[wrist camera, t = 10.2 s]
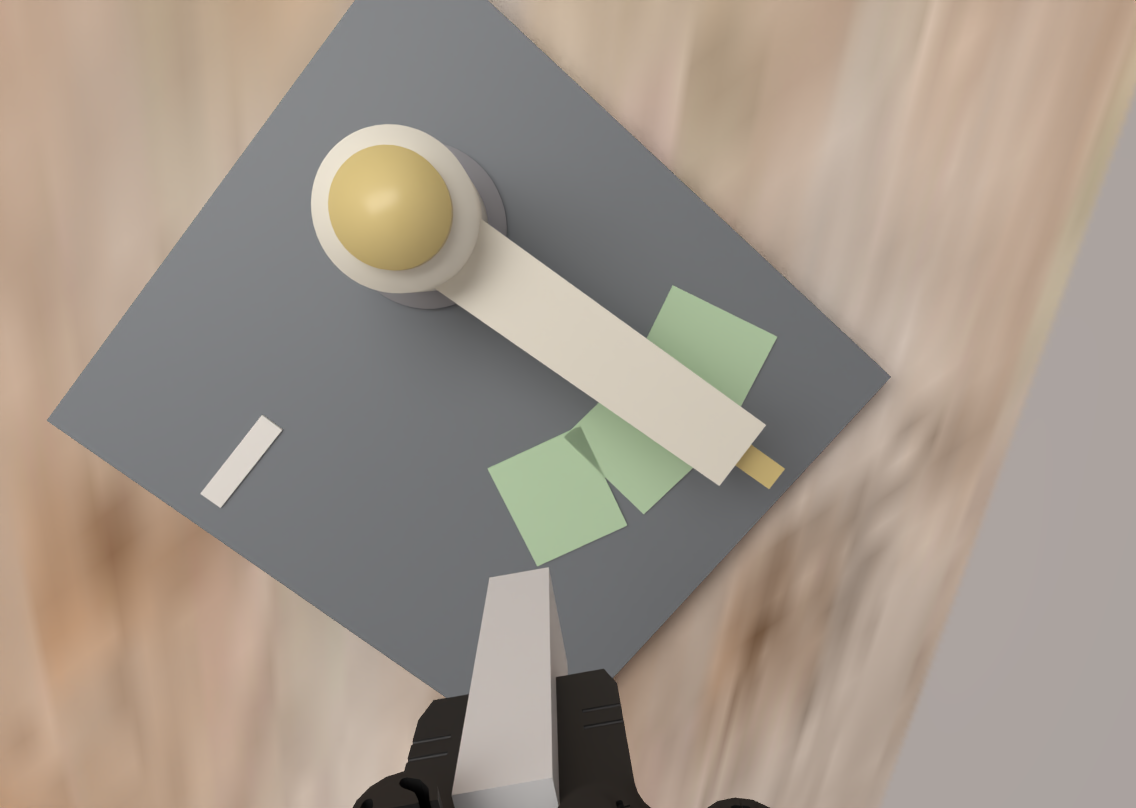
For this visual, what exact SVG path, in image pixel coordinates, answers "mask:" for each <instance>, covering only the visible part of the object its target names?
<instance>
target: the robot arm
mask: <svg viewBox="0 0 1136 808" xmlns="http://www.w3.org/2000/svg"><path fill="white" fill-rule="evenodd" d="M353 808H650V807H649V806H648V805H647V804H646V803H645V802H644V801H643V800H642V798H641V797H640V795H639V794H638V792H637V789H636V786H635V783H634V777H633V772H632V766H631V760H630V755H629V749H628V743H627V738H626V732H625V726H624V721H623V715H622V709H621V704H620V698H619V692H618V687H617V683H616V682H615V681H614V680H613V678H612V677H611V676H610V675H609V674H608V673H607V672H606V670H605V669H599V670H593V671H587V672H582V673H576V674H570V675H568V667H567V659H566V654H565V649H564V643H563V638H562V633H561V628H560V623H559V618H558V612H557V607H556V602H555V597H554V592H553V587H552V581H551V576H550V571H549V567H547V568H541V569H536V570H530V571H524V572H519V573H513V574H507V575H502V576H496V577H490V578H489V583H488V589H487V595H486V600H485V606H484V612H483V618H482V623H481V629H480V635H479V640H478V646H477V652H476V658H475V663H474V669H473V675H472V681H471V686H470V692H469V694H467V695H461V696H455V697H450V698H444V699H438V700H433V702H432V703H431V704H430V706H429V707H428V708H427V710H426V711H425V712H424V713H423V715H422V716H421V717H420V719H419V720H418V723H417V727H416V731H415V734H414V738H413V745H411V749H410V752H409V756H408V763H406V767H405V771H404V772H400V773H397V774H394V775H391V776H388V777H386V778H384V779H382V780H381V781H379V782H377V783H376V784H374V785H373V786H371V787H370V788H369V789H368V790H367V791H366V792H365V793H364V794H363V795H362V796H361V797H360V798H359V799H358V800H357V801H356V803H355V805H354V806H353ZM708 808H769V807H767V806H765V805H763V804H761V803H758V802H756V801H754V800H750V799H742V798H730V799H726V800H721V801H717V802H716V803H714V804H712V805H711V806H709V807H708Z"/></svg>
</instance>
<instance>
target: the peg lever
mask: <svg viewBox="0 0 1136 808" xmlns="http://www.w3.org/2000/svg"><path fill="white" fill-rule="evenodd" d="M311 214H312V220H313V225H314V228H315V231H316V235H317V237H318V239H319V242H320V244H321V246H322V248H323V249H324V251H325V252H326V254H327V256H328V257H329V258H330V259H331V261H332V262H333V263H334V264H335V265H336V266H337V267H338V268H339V269H340V270H341V271H342V272H343V273H344V274H345V275H347V276H348V277H349V278H351V279H352V280H354V281H356V282H357V283H359V284H361V285H363V286H366V287H368V288H370V289H374V290H377V291H381V292H387V293H413V292H427V291H437V290H438V291H439V292H440V293H442V294H443V295H445V296H446V297H448V298H449V299H451V300H452V301H453V302H455V303H456V304H458V305H459V306H461V307H462V308H463V309H465V310H466V311H468V312H469V313H471V314H472V315H474V316H475V317H476V318H478V319H479V320H481V321H482V322H484V323H485V324H487V325H488V326H489V327H491V328H492V329H494V330H495V331H497V332H498V333H500V334H501V335H502V336H504V337H505V338H507V339H508V340H510V341H511V342H512V343H514V344H515V345H517V346H518V347H520V348H521V349H523V350H524V351H525V352H527V353H528V354H530V355H531V356H533V357H534V358H536V359H537V360H538V361H540V362H541V363H543V364H544V365H546V366H547V367H549V368H550V369H551V370H553V371H554V372H556V373H557V374H559V375H560V376H562V377H563V378H564V379H566V380H567V381H569V382H570V383H572V384H573V385H574V386H576V387H577V388H579V389H580V390H582V391H583V392H585V393H586V394H587V395H589V396H590V397H592V398H593V399H595V400H596V401H598V402H599V403H600V404H602V405H603V406H605V407H606V408H608V409H609V410H611V411H612V412H613V413H615V414H616V415H618V416H619V417H621V418H622V419H623V420H625V421H626V422H628V423H629V424H631V425H632V426H634V427H635V428H636V429H638V430H639V431H641V432H642V433H644V434H645V435H647V436H648V437H649V438H651V439H652V440H654V441H655V442H657V443H658V444H660V445H661V446H662V447H664V448H665V449H667V450H668V451H670V452H671V453H672V454H674V455H675V456H677V457H678V458H680V459H681V460H683V461H684V462H685V463H687V464H688V465H690V466H691V467H693V468H694V469H696V470H697V471H698V472H700V473H701V474H703V475H704V476H706V477H707V478H709V479H710V480H711V481H713V482H714V483H716V484H717V485H719V486H720V484H721V483H722V482H723V481H724V479H725V478H726V477H727V475H728V474H729V473H730V471H731V470H732V469H733V468H734V466H737V467H738V468H740V469H741V470H742V471H744V472H745V473H747V474H748V475H750V476H751V477H752V478H754V479H755V480H757V481H758V482H760V483H761V484H762V485H764V486H765V487H767V488H768V489H770V487H771V486H772V485H773V484H774V482H775V481H776V480H777V479H778V477H779V476H780V475H781V473H782V472H783V471H784V470H785V468H783V467H782V466H780V465H779V464H778V463H776V462H775V461H774V460H772V459H771V458H769V457H768V456H767V455H765V454H764V453H762V452H761V451H760V450H758V449H757V448H755V447H754V446H753V445H751V444H752V443H753V442H754V440H755V439H756V438H757V436H758V435H759V434H760V432H761V431H762V430H763V429H764V427H765V426H766V425H765V424H764V423H763V422H761V421H760V420H758V419H757V418H756V417H754V416H753V415H752V414H750V413H749V412H747V411H746V410H745V409H743V408H742V407H741V406H739V405H738V404H736V403H735V402H734V401H732V400H731V399H729V398H728V397H727V396H725V395H724V394H723V393H721V392H720V391H718V390H717V389H716V388H714V387H713V386H711V385H710V384H709V383H707V382H706V381H705V380H703V379H702V378H700V377H699V376H698V375H696V374H695V373H693V372H692V371H691V370H689V369H688V368H687V367H685V366H684V365H682V364H681V363H680V362H678V361H677V360H676V359H674V358H673V357H671V356H670V355H669V354H667V353H666V352H664V351H663V350H662V349H660V348H659V347H658V346H656V345H655V344H653V343H652V342H651V341H649V340H648V339H646V338H645V337H644V336H642V335H641V334H640V333H638V332H637V331H635V330H634V329H633V328H631V327H630V326H629V325H627V324H626V323H624V322H623V321H622V320H620V319H619V318H617V317H616V316H615V315H613V314H612V313H611V312H609V311H608V310H606V309H605V308H604V307H602V306H601V305H599V304H598V303H597V302H595V301H594V300H593V299H591V298H590V297H588V296H587V295H586V294H584V293H583V292H582V291H580V290H579V289H577V288H576V287H575V286H573V285H572V284H570V283H569V282H568V281H566V280H565V279H564V278H562V277H561V276H559V275H558V274H557V273H555V272H554V271H552V270H551V269H550V268H548V267H547V266H546V265H544V264H543V263H541V262H540V261H539V260H537V259H536V258H534V257H533V256H532V255H530V254H529V253H528V252H526V251H525V250H523V249H522V248H521V247H519V246H518V245H517V244H515V243H514V242H512V241H511V240H510V239H508V238H507V237H505V236H504V235H503V234H501V233H500V232H499V231H497V230H496V229H494V228H493V227H492V226H490V225H489V224H488V219H487V213H486V209H485V206H484V203H483V201H482V198H481V196H480V195H479V193H478V191H477V189H476V188H475V186H474V184H473V183H472V181H471V180H470V178H469V176H468V175H467V173H466V171H465V170H464V168H463V167H462V165H461V164H460V162H459V161H458V160H457V158H456V157H455V156H454V155H453V153H452V152H451V151H450V150H449V149H448V148H447V147H446V146H444V145H443V144H442V143H441V142H440V141H438V140H437V139H435V138H434V137H432V136H430V135H429V134H427V133H425V132H422V131H420V130H418V129H415V128H411V127H408V126H403V125H396V124H382V125H374V126H370V127H366V128H363V129H360V130H358V131H355V132H354V133H352V134H350V135H348V136H347V137H345V138H344V139H342V140H341V141H340V142H339V143H337V144H336V145H335V146H334V147H333V148H332V149H331V150H330V152H329V153H328V154H327V156H326V157H325V158H324V160H323V161H322V163H321V165H320V167H319V169H318V171H317V174H316V177H315V180H314V184H313V188H312V195H311Z"/></svg>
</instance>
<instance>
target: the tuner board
mask: <svg viewBox="0 0 1136 808" xmlns="http://www.w3.org/2000/svg"><path fill="white" fill-rule="evenodd" d="M382 124H396V125H403V126H408V127H411V128H415V129H418V130H420V131H422V132H425V133H427V134H429V135H430V136H432V137H434V138H435V139H437V140H438V141H440V142H441V143H442V144H443V145H444V146H446V147H447V148H448V149H449V150H450V151H451V152H452V153H453V155H454V156H455V157H456V158H457V160H458V161H459V162H460V164H461V165H462V167H463V168H464V170H465V171H466V173H467V175H468V176H469V178H470V180H471V181H472V183H473V184H474V186H475V188H476V189H477V191H478V193H479V195H480V196H481V198H482V201H483V203H484V206H485V209H486V213H487V219H488V224H489V225H490V226H492V227H493V228H494V229H496V230H497V231H499V232H500V233H501V234H503V235H504V236H505V237H507V238H508V239H510V240H511V241H512V242H514V243H515V244H517V245H518V246H519V247H521V248H522V249H523V250H525V251H526V252H528V253H529V254H530V255H532V256H533V257H534V258H536V259H537V260H539V261H540V262H541V263H543V264H544V265H546V266H547V267H548V268H550V269H551V270H552V271H554V272H555V273H557V274H558V275H559V276H561V277H562V278H564V279H565V280H566V281H568V282H569V283H570V284H572V285H573V286H575V287H576V288H577V289H579V290H580V291H582V292H583V293H584V294H586V295H587V296H588V297H590V298H591V299H593V300H594V301H595V302H597V303H598V304H599V305H601V306H602V307H604V308H605V309H606V310H608V311H609V312H611V313H612V314H613V315H615V316H616V317H617V318H619V319H620V320H622V321H623V322H624V323H626V324H627V325H629V326H630V327H631V328H633V329H634V330H635V331H637V332H638V333H640V334H641V335H642V336H644V337H645V338H646V339H648V340H649V341H651V342H652V343H653V344H655V345H656V346H658V347H659V348H660V349H662V350H663V351H664V352H666V353H667V354H669V355H670V356H671V357H673V358H674V359H676V360H677V361H678V362H680V363H681V364H682V365H684V366H685V367H687V368H688V369H689V370H691V371H692V372H693V373H695V374H696V375H698V376H699V377H700V378H702V379H703V380H705V381H706V382H707V383H709V384H710V385H711V386H713V387H714V388H716V389H717V390H718V391H720V392H721V393H723V394H724V395H725V396H727V397H728V398H729V399H731V400H732V401H734V402H735V403H736V404H738V405H739V406H741V407H742V408H743V409H745V410H746V411H747V412H749V413H750V414H752V415H753V416H754V417H756V418H757V419H758V420H760V421H761V422H763V423H764V424H765V425H766V426H765V427H764V429H763V430H762V431H761V432H760V434H759V435H758V436H757V438H756V439H755V440H754V442H753V443H752V444H751V445H753V446H754V447H755V448H757V449H758V450H760V451H761V452H762V453H764V454H765V455H767V456H768V457H769V458H771V459H772V460H774V461H775V462H776V463H778V464H779V465H780V466H782V467H783V468H785V470H784V471H783V472H782V473H781V475H780V476H779V477H778V479H777V480H776V481H775V482H774V484H773V485H772V486H771V487H770V489H768V488H767V487H765V486H764V485H762V484H761V483H760V482H758V481H757V480H755V479H754V478H752V477H751V476H750V475H748V474H747V473H745V472H744V471H742V470H741V469H740V468H738V467H737V466H734V468H733V469H732V470H731V471H730V473H729V474H728V475H727V477H726V478H725V479H724V481H723V482H722V483H721V484H720V486H719V485H717V484H716V483H714V482H713V481H711V480H710V479H709V478H707V477H706V476H704V475H703V474H701V473H700V472H698V471H697V470H696V469H694V468H693V467H691V466H690V465H688V464H687V463H685V462H684V461H683V460H681V459H680V458H678V457H677V456H675V455H674V454H672V453H671V452H670V451H668V450H667V449H665V448H664V447H662V446H661V445H660V444H658V443H657V442H655V441H654V440H652V439H651V438H649V437H648V436H647V435H645V434H644V433H642V432H641V431H639V430H638V429H636V428H635V427H634V426H632V425H631V424H629V423H628V422H626V421H625V420H623V419H622V418H621V417H619V416H618V415H616V414H615V413H613V412H612V411H611V410H609V409H608V408H606V407H605V406H603V405H602V404H600V403H599V402H598V401H596V400H595V399H593V398H592V397H590V396H589V395H587V394H586V393H585V392H583V391H582V390H580V389H579V388H577V387H576V386H574V385H573V384H572V383H570V382H569V381H567V380H566V379H564V378H563V377H562V376H560V375H559V374H557V373H556V372H554V371H553V370H551V369H550V368H549V367H547V366H546V365H544V364H543V363H541V362H540V361H538V360H537V359H536V358H534V357H533V356H531V355H530V354H528V353H527V352H525V351H524V350H523V349H521V348H520V347H518V346H517V345H515V344H514V343H512V342H511V341H510V340H508V339H507V338H505V337H504V336H502V335H501V334H500V333H498V332H497V331H495V330H494V329H492V328H491V327H489V326H488V325H487V324H485V323H484V322H482V321H481V320H479V319H478V318H476V317H475V316H474V315H472V314H471V313H469V312H468V311H466V310H465V309H463V308H462V307H461V306H459V305H458V304H456V303H455V302H453V301H452V300H451V299H449V298H448V297H446V296H445V295H443V294H442V293H440V292H439V291H438V290H437V291H427V292H413V293H387V292H381V291H377V290H374V289H370V288H368V287H366V286H363V285H361V284H359V283H357V282H356V281H354V280H352V279H351V278H349V277H348V276H347V275H345V274H344V273H343V272H342V271H341V270H340V269H339V268H338V267H337V266H336V265H335V264H334V263H333V262H332V261H331V259H330V258H329V257H328V256H327V254H326V252H325V251H324V249H323V248H322V246H321V244H320V242H319V239H318V237H317V235H316V231H315V228H314V225H313V220H312V214H311V195H312V188H313V184H314V180H315V177H316V174H317V171H318V169H319V167H320V165H321V163H322V161H323V160H324V158H325V157H326V156H327V154H328V153H329V152H330V150H331V149H332V148H333V147H334V146H335V145H336V144H337V143H339V142H340V141H341V140H342V139H344V138H345V137H347V136H348V135H350V134H352V133H354V132H355V131H358V130H360V129H363V128H366V127H370V126H374V125H382ZM890 377H891V376H889V375H888V374H887V373H886V372H885V371H884V370H883V369H882V368H881V367H880V366H879V365H878V364H877V363H876V362H874V361H873V360H872V359H871V358H870V357H869V356H868V355H867V354H866V353H865V352H864V351H863V350H862V349H861V348H859V347H858V346H857V345H856V344H855V343H854V342H853V341H852V340H851V339H850V338H849V337H848V336H847V335H846V334H845V333H843V332H842V331H841V330H840V329H839V328H838V327H837V326H836V325H835V324H834V323H833V322H832V321H831V320H830V319H828V318H827V317H826V316H825V315H824V314H823V313H822V312H821V311H820V310H819V309H818V308H817V307H816V306H815V305H813V304H812V303H811V302H810V301H809V300H808V299H807V298H806V297H805V296H804V295H803V294H802V293H801V292H800V291H798V290H797V289H796V288H795V287H794V286H793V285H792V284H791V283H790V282H789V281H788V280H787V279H786V278H785V277H783V276H782V275H781V274H780V273H779V272H778V271H777V270H776V269H775V268H774V267H773V266H772V265H771V264H770V263H768V262H767V261H766V260H765V259H764V258H763V257H762V256H761V255H760V254H759V253H758V252H757V251H756V250H755V249H753V248H752V247H751V246H750V245H749V244H748V243H747V242H746V241H745V240H744V239H743V238H742V237H741V236H740V235H738V234H737V233H736V232H735V231H734V230H733V229H732V228H731V227H730V226H729V225H728V224H727V223H726V222H725V221H723V220H722V219H721V218H720V217H719V216H718V215H717V214H716V213H715V212H714V211H713V210H712V209H711V208H710V207H708V206H707V205H706V204H705V203H704V202H703V201H702V200H701V199H700V198H699V197H698V196H697V195H696V194H695V193H693V192H692V191H691V190H690V189H689V188H688V187H687V186H686V185H685V184H684V183H683V182H682V181H681V180H680V179H678V178H677V177H676V176H675V175H674V174H673V173H672V172H671V171H670V170H669V169H668V168H667V167H666V166H665V165H663V164H662V163H661V162H660V161H659V160H658V159H657V158H656V157H655V156H654V155H653V154H652V153H651V152H650V151H648V150H647V149H646V148H645V147H644V146H643V145H642V144H641V143H640V142H639V141H638V140H637V139H636V138H635V137H633V136H632V135H631V134H630V133H629V132H628V131H627V130H626V129H625V128H624V127H623V126H622V125H621V124H620V123H618V122H617V121H616V120H615V119H614V118H613V117H612V116H611V115H610V114H609V113H608V112H607V111H606V110H605V109H604V108H602V107H601V106H600V105H599V104H598V103H597V102H596V101H595V100H594V99H593V98H592V97H591V96H590V95H589V94H587V93H586V92H585V91H584V90H583V89H582V88H581V87H580V86H579V85H578V84H577V83H576V82H575V81H574V80H572V79H571V78H570V77H569V76H568V75H567V74H566V73H565V72H564V71H563V70H562V69H561V68H560V67H559V66H557V65H556V64H555V63H554V62H553V61H552V60H551V59H550V58H549V57H548V56H547V55H546V54H545V53H544V52H542V51H541V50H540V49H539V48H538V47H537V46H536V45H535V44H534V43H533V42H532V41H531V40H530V39H529V38H527V37H526V36H525V35H524V34H523V33H522V32H521V31H520V30H519V29H518V28H517V27H516V26H515V25H514V24H512V23H511V22H510V21H509V20H508V19H507V18H506V17H505V16H504V15H503V14H502V13H501V12H500V11H499V10H497V9H496V8H495V7H494V6H493V5H492V4H491V3H490V2H489V1H488V0H355V1H354V2H353V4H352V5H351V6H350V8H349V9H348V10H347V12H346V13H345V15H344V16H343V17H342V19H341V20H340V21H339V23H338V24H337V25H336V27H335V28H334V30H333V31H332V32H331V34H330V35H329V36H328V38H327V39H326V40H325V42H324V43H323V45H322V46H321V47H320V49H319V50H318V51H317V53H316V54H315V55H314V57H313V58H312V60H311V61H310V62H309V64H308V65H307V66H306V68H305V69H304V70H303V72H302V73H301V75H300V76H299V77H298V79H297V80H296V81H295V83H294V84H293V85H292V87H291V88H290V90H289V91H288V92H287V94H286V95H285V96H284V98H283V99H282V100H281V102H280V103H279V105H278V106H277V107H276V109H275V110H274V111H273V113H272V114H271V115H270V117H269V118H268V120H267V121H266V122H265V124H264V125H263V126H262V128H261V129H260V130H259V132H258V133H257V135H256V136H255V137H254V139H253V140H252V141H251V143H250V144H249V145H248V147H247V148H246V150H245V151H244V152H243V154H242V155H241V156H240V158H239V159H238V160H237V162H236V163H235V165H234V166H233V167H232V169H231V170H230V171H229V173H228V174H227V175H226V177H225V178H224V180H223V181H222V182H221V184H220V185H219V186H218V188H217V189H216V190H215V192H214V193H213V195H212V196H211V197H210V199H209V200H208V201H207V203H206V204H205V205H204V207H203V208H202V210H201V211H200V212H199V214H198V215H197V216H196V218H195V219H194V220H193V222H192V223H191V225H190V226H189V227H188V229H187V230H186V231H185V233H184V234H183V235H182V237H181V238H180V240H179V241H178V242H177V244H176V245H175V246H174V248H173V249H172V250H171V252H170V253H169V255H168V256H167V257H166V259H165V260H164V261H163V263H162V264H161V265H160V267H159V268H158V270H157V271H156V272H155V274H154V275H153V276H152V278H151V279H150V280H149V282H148V283H147V285H146V286H145V287H144V289H143V290H142V291H141V293H140V294H139V295H138V297H137V298H136V300H135V301H134V302H133V304H132V305H131V306H130V308H129V309H128V310H127V312H126V313H125V315H124V316H123V317H122V319H121V320H120V321H119V323H118V324H117V325H116V327H115V328H114V330H113V331H112V332H111V334H110V335H109V336H108V338H107V339H106V340H105V342H104V343H103V345H102V346H101V347H100V349H99V350H98V351H97V353H96V354H95V355H94V357H93V358H92V359H91V361H90V362H89V364H88V365H87V366H86V368H85V369H84V370H83V372H82V373H81V374H80V376H79V377H78V379H77V380H76V381H75V383H74V384H73V385H72V387H71V388H70V389H69V391H68V392H67V394H66V395H65V396H64V398H63V399H62V400H61V402H60V403H59V404H58V406H57V407H56V409H55V410H54V411H53V413H52V414H51V415H50V417H49V418H48V419H47V421H48V422H50V423H51V424H52V425H54V426H55V427H57V428H58V429H60V430H61V431H63V432H64V433H65V434H67V435H68V436H70V437H71V438H73V439H74V440H76V441H77V442H78V443H80V444H81V445H83V446H84V447H86V448H87V449H89V450H90V451H91V452H93V453H94V454H96V455H97V456H99V457H100V458H101V459H103V460H104V461H106V462H107V463H109V464H110V465H112V466H113V467H114V468H116V469H117V470H119V471H120V472H122V473H123V474H125V475H126V476H127V477H129V478H130V479H132V480H133V481H135V482H136V483H138V484H139V485H140V486H142V487H143V488H145V489H146V490H148V491H149V492H150V493H152V494H153V495H155V496H156V497H158V498H159V499H161V500H162V501H163V502H165V503H166V504H168V505H169V506H171V507H172V508H174V509H175V510H176V511H178V512H179V513H181V514H182V515H184V516H185V517H187V518H188V519H189V520H191V521H192V522H194V523H195V524H197V525H198V526H199V527H201V528H202V529H204V530H205V531H207V532H208V533H210V534H211V535H212V536H214V537H215V538H217V539H218V540H220V541H221V542H223V543H224V544H225V545H227V546H228V547H230V548H231V549H233V550H234V551H236V552H237V553H238V554H240V555H241V556H243V557H244V558H246V559H247V560H248V561H250V562H251V563H253V564H254V565H256V566H257V567H259V568H260V569H261V570H263V571H264V572H266V573H267V574H269V575H270V576H272V577H273V578H274V579H276V580H277V581H279V582H280V583H282V584H283V585H285V586H286V587H287V588H289V589H290V590H292V591H293V592H295V593H296V594H298V595H299V596H300V597H302V598H303V599H305V600H306V601H308V602H309V603H310V604H312V605H313V606H315V607H316V608H318V609H319V610H321V611H322V612H323V613H325V614H326V615H328V616H329V617H331V618H332V619H334V620H335V621H336V622H338V623H339V624H341V625H342V626H344V627H345V628H347V629H348V630H349V631H351V632H352V633H354V634H355V635H357V636H358V637H359V638H361V639H362V640H364V641H365V642H367V643H368V644H370V645H371V646H372V647H374V648H375V649H377V650H378V651H380V652H381V653H383V654H384V655H385V656H387V657H388V658H390V659H391V660H393V661H394V662H396V663H397V664H398V665H400V666H401V667H403V668H404V669H406V670H407V671H408V672H410V673H411V674H413V675H414V676H416V677H417V678H419V679H420V680H421V681H423V682H424V683H426V684H427V685H429V686H430V687H432V688H433V689H434V690H436V691H437V692H439V693H440V694H442V695H443V696H445V697H446V698H450V697H455V696H461V695H467V694H469V692H470V686H471V681H472V675H473V669H474V663H475V658H476V652H477V646H478V640H479V635H480V629H481V623H482V618H483V612H484V606H485V600H486V595H487V589H488V583H489V578H490V577H496V576H502V575H507V574H513V573H519V572H524V571H530V570H536V569H541V568H547V567H549V571H550V576H551V581H552V587H553V592H554V597H555V602H556V607H557V612H558V618H559V623H560V628H561V633H562V638H563V643H564V649H565V654H566V659H567V667H568V675H570V674H576V673H582V672H587V671H593V670H599V669H605V670H606V672H607V673H608V674H609V675H610V676H611V677H612V678H613V677H614V676H615V675H616V674H617V673H618V672H619V671H620V670H621V669H622V668H623V667H624V665H625V664H626V663H627V662H628V661H629V660H630V659H631V658H632V657H633V656H634V655H635V654H636V653H637V651H638V650H639V649H640V648H641V647H642V646H643V645H644V644H645V643H646V642H647V641H648V640H649V638H650V637H651V636H652V635H653V634H654V633H655V632H656V631H657V630H658V629H659V628H660V627H661V625H662V624H663V623H664V622H665V621H666V620H667V619H668V618H669V617H670V616H671V615H672V614H673V612H674V611H675V610H676V609H677V608H678V607H679V606H680V605H681V604H682V603H683V602H684V601H685V599H686V598H687V597H688V596H689V595H690V594H691V593H692V592H693V591H694V590H695V589H696V588H697V586H698V585H699V584H700V583H701V582H702V581H703V580H704V579H705V578H706V577H707V576H708V575H709V573H710V572H711V571H712V570H713V569H714V568H715V567H716V566H717V565H718V564H719V563H720V562H721V560H722V559H723V558H724V557H725V556H726V555H727V554H728V553H729V552H730V551H731V550H732V549H733V547H734V546H735V545H736V544H737V543H738V542H739V541H740V540H741V539H742V538H743V537H744V536H745V534H746V533H747V532H748V531H749V530H750V529H751V528H752V527H753V526H754V525H755V524H756V523H757V521H758V520H759V519H760V518H761V517H762V516H763V515H764V514H765V513H766V512H767V511H768V510H769V508H770V507H771V506H772V505H773V504H774V503H775V502H776V501H777V500H778V499H779V498H780V497H781V495H782V494H783V493H784V492H785V491H786V490H787V489H788V488H789V487H790V486H791V485H792V484H793V482H794V481H795V480H796V479H797V478H798V477H799V476H800V475H801V474H802V473H803V472H804V471H805V470H806V468H807V467H808V466H809V465H810V464H811V463H812V462H813V461H814V460H815V459H816V458H817V457H818V455H819V454H820V453H821V452H822V451H823V450H824V449H825V448H826V447H827V446H828V445H829V444H830V442H831V441H832V440H833V439H834V438H835V437H836V436H837V435H838V434H839V433H840V432H841V431H842V429H843V428H844V427H845V426H846V425H847V424H848V423H849V422H850V421H851V420H852V419H853V418H854V416H855V415H856V414H857V413H858V412H859V411H860V410H861V409H862V408H863V407H864V406H865V405H866V403H867V402H868V401H869V400H870V399H871V398H872V397H873V396H874V395H875V394H876V393H877V392H878V390H879V389H880V388H881V387H882V386H883V385H884V384H885V383H886V382H887V381H888V380H889V379H890Z"/></svg>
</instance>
